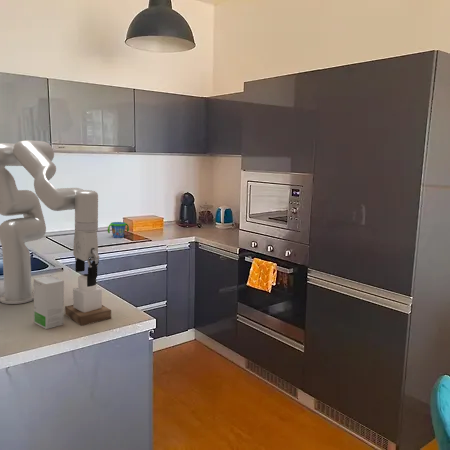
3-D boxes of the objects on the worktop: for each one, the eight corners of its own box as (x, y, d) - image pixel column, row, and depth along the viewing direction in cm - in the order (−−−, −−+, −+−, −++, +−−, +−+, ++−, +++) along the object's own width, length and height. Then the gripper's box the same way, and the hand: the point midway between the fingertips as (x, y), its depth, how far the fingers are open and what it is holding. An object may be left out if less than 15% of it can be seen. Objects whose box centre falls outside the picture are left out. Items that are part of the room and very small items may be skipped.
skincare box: (33, 323, 144) (31, 278, 142) (51, 318, 149) (50, 274, 147) (46, 330, 139) (45, 283, 137) (65, 324, 144) (64, 279, 142)
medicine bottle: (91, 303, 157) (90, 271, 155) (102, 308, 152) (101, 275, 150) (73, 308, 151) (72, 275, 149) (83, 313, 147) (83, 279, 145)
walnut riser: (65, 314, 153) (65, 306, 153) (94, 308, 160) (94, 300, 160) (81, 325, 144) (80, 317, 143) (111, 318, 151) (111, 310, 151)
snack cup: (125, 235, 310) (125, 221, 308) (132, 237, 302) (132, 223, 300) (104, 236, 301) (104, 222, 299) (110, 239, 292) (110, 224, 291)
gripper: (65, 223, 151) (65, 270, 154) (87, 231, 138) (87, 282, 141) (85, 221, 156) (85, 267, 159) (108, 229, 143) (107, 279, 146)
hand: (86, 274), depth 150 cm, fingers open, 9 cm apart
